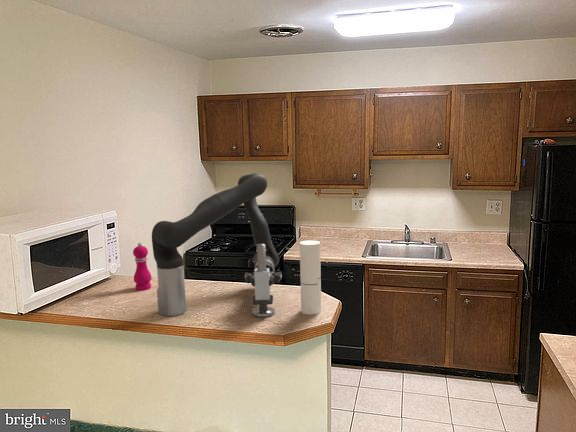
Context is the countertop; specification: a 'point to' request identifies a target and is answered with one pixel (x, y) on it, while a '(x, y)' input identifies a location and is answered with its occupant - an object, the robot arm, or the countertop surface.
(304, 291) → the cylindrical container
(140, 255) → the pepper mill
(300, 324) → the countertop surface
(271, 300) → the ring
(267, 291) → the sleeve
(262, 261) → the pipe stand
